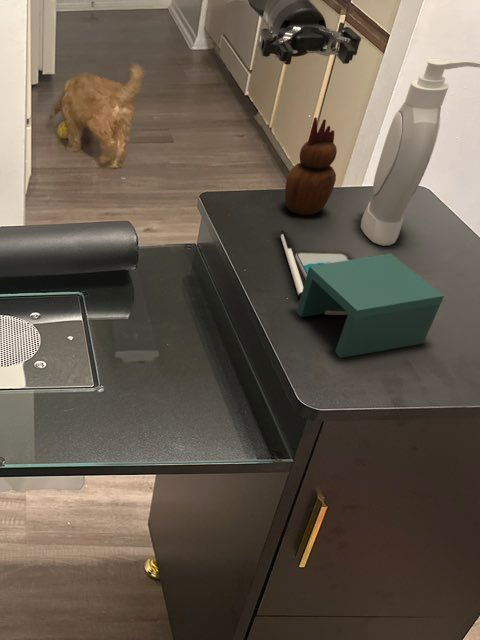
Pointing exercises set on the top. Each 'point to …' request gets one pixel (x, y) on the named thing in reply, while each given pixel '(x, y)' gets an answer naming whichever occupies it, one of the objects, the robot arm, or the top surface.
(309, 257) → the smartphone
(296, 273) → the pen
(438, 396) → the top surface
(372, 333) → the shelf
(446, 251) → the top surface
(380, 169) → the soap bottle
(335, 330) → the top surface
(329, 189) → the wooden figurine
